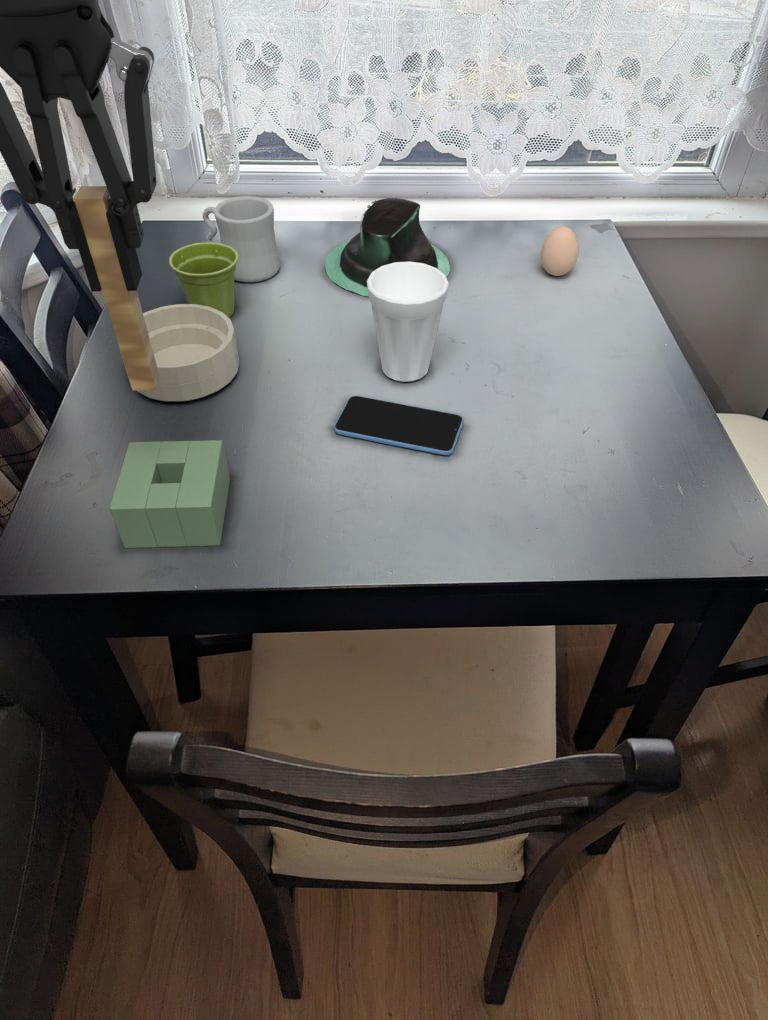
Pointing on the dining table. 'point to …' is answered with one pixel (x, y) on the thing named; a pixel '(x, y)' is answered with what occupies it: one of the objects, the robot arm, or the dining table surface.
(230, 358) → the bowl
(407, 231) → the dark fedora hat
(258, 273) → the mug
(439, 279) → the cup
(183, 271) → the plant pot
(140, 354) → the stirring stick
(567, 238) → the egg
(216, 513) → the holder
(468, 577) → the dining table surface
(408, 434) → the smartphone
